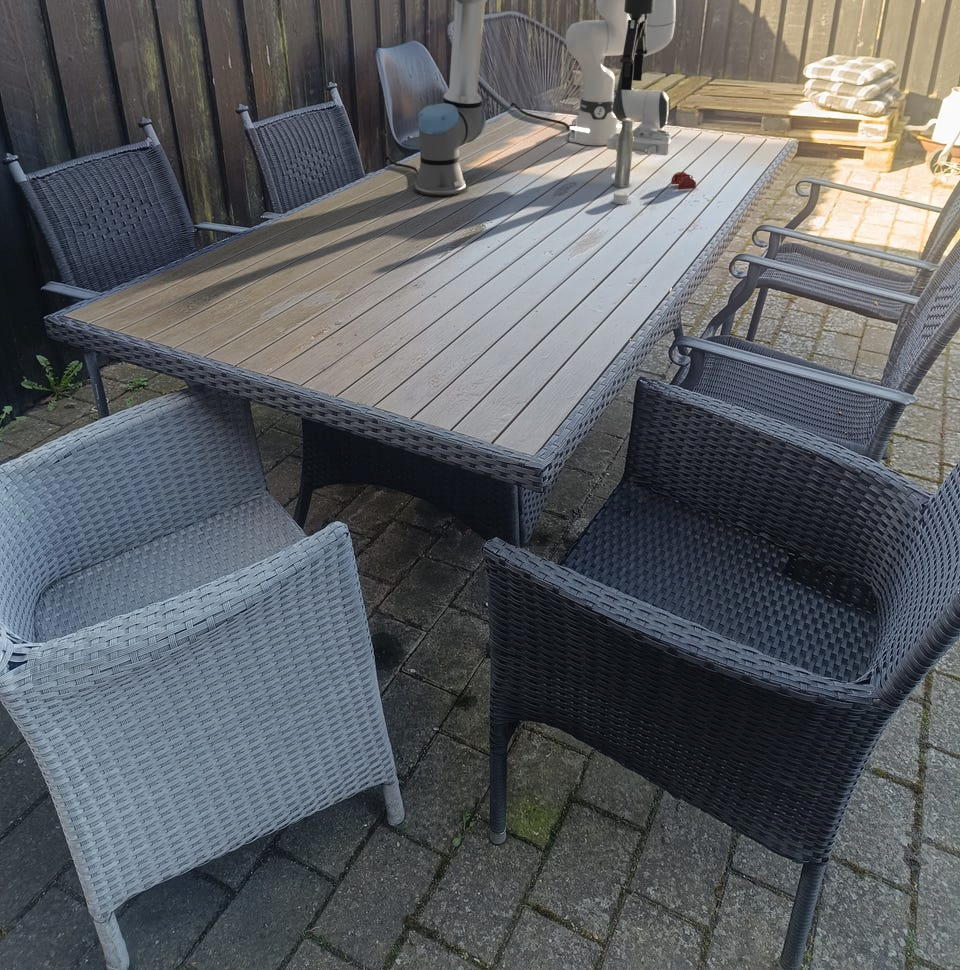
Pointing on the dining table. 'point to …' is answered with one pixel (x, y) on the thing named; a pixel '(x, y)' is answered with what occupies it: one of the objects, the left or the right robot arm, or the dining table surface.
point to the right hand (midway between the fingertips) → (632, 150)
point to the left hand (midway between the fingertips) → (631, 85)
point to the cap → (620, 197)
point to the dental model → (683, 180)
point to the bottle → (624, 154)
